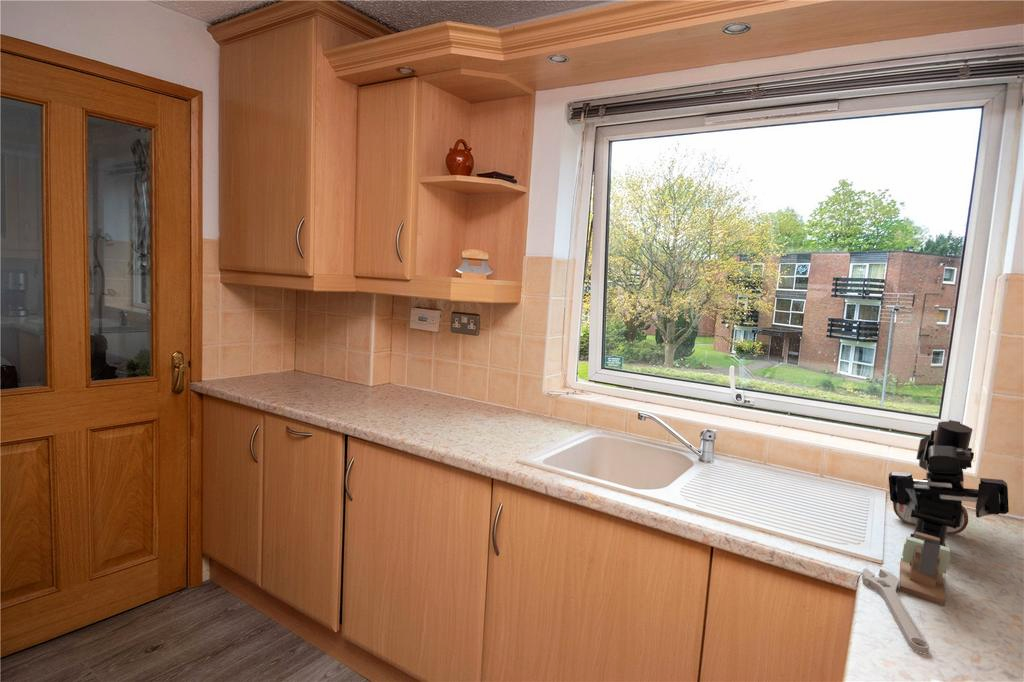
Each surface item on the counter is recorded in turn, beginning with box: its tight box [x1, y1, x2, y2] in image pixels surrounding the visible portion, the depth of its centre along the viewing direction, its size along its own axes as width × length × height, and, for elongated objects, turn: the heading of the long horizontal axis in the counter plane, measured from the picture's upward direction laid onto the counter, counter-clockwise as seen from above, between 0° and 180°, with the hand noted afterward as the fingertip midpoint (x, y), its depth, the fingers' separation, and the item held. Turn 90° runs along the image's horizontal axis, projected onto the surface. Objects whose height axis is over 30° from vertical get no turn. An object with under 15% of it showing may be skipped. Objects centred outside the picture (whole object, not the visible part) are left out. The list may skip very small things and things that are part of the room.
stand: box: [898, 532, 947, 607], centre depth 113 cm, size 14×7×8 cm, turn 145°
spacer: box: [901, 535, 951, 574], centre depth 114 cm, size 2×7×5 cm, turn 55°
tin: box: [892, 502, 969, 535], centre depth 140 cm, size 15×3×8 cm, turn 56°
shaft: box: [918, 538, 940, 576], centre depth 111 cm, size 11×2×6 cm, turn 145°
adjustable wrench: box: [861, 568, 930, 654], centre depth 104 cm, size 25×6×2 cm, turn 158°
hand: (946, 511), depth 107 cm, fingers open, 9 cm apart
